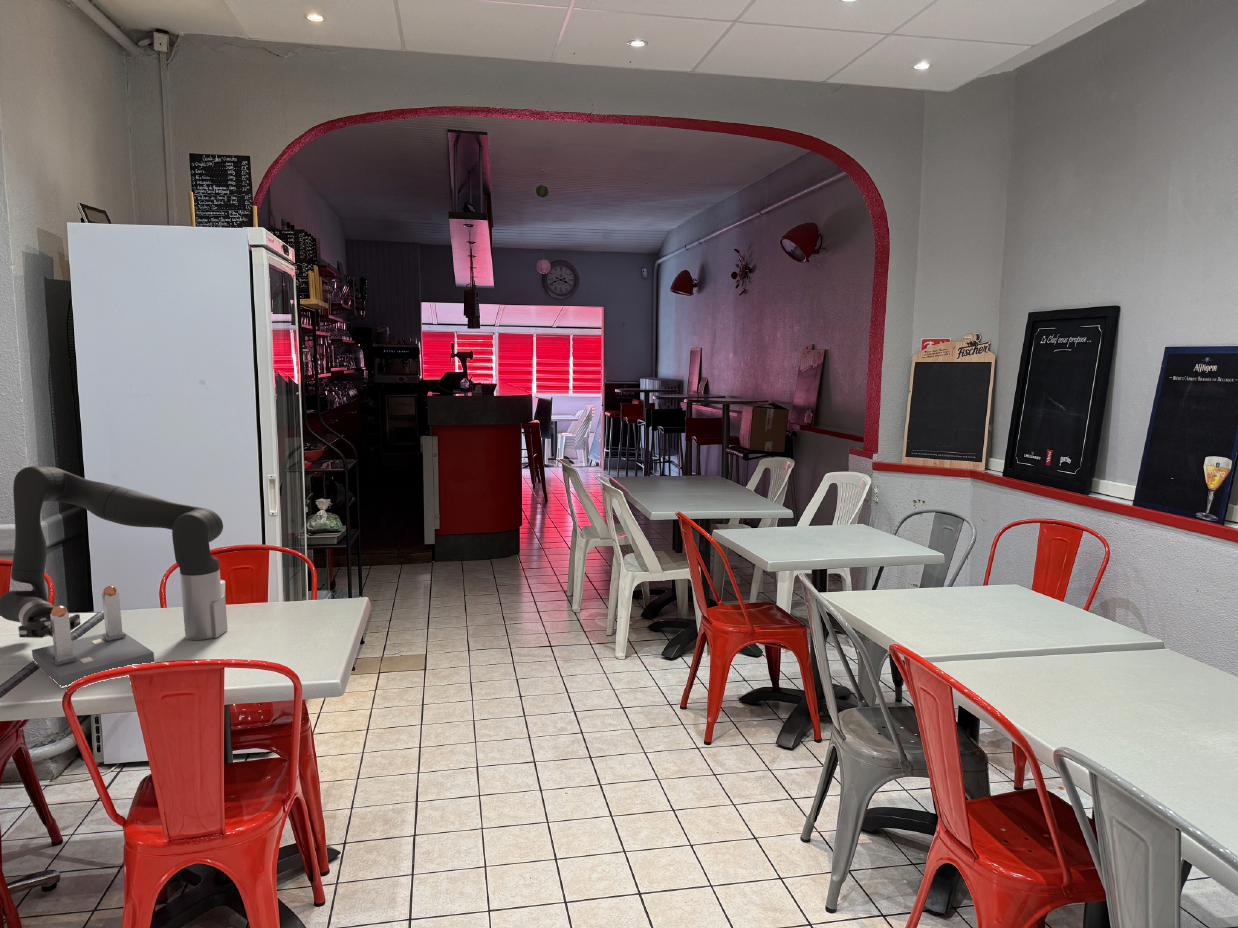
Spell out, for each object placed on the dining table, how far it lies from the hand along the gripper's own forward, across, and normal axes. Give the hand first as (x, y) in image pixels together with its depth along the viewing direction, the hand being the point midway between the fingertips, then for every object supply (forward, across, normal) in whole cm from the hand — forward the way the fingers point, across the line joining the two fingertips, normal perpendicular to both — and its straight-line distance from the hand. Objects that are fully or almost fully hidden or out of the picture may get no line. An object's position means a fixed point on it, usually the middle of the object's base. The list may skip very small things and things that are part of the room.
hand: (60, 633), depth 189 cm
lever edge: (+1, 0, +6) cm, 6 cm away
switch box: (-2, +6, +10) cm, 12 cm away
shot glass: (-27, +44, +10) cm, 52 cm away
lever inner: (-8, +13, +6) cm, 16 cm away
